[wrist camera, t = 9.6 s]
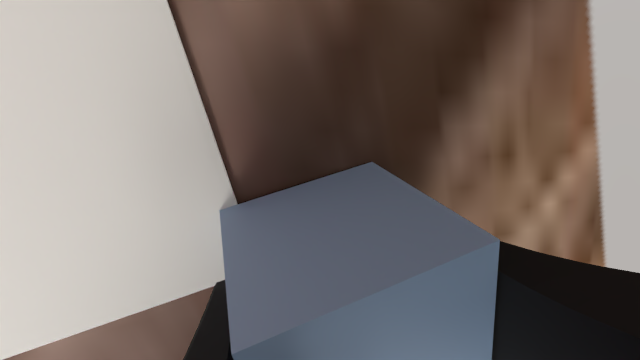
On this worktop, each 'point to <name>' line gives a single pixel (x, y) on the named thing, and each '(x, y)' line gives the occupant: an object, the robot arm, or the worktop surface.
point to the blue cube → (357, 273)
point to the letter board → (101, 168)
